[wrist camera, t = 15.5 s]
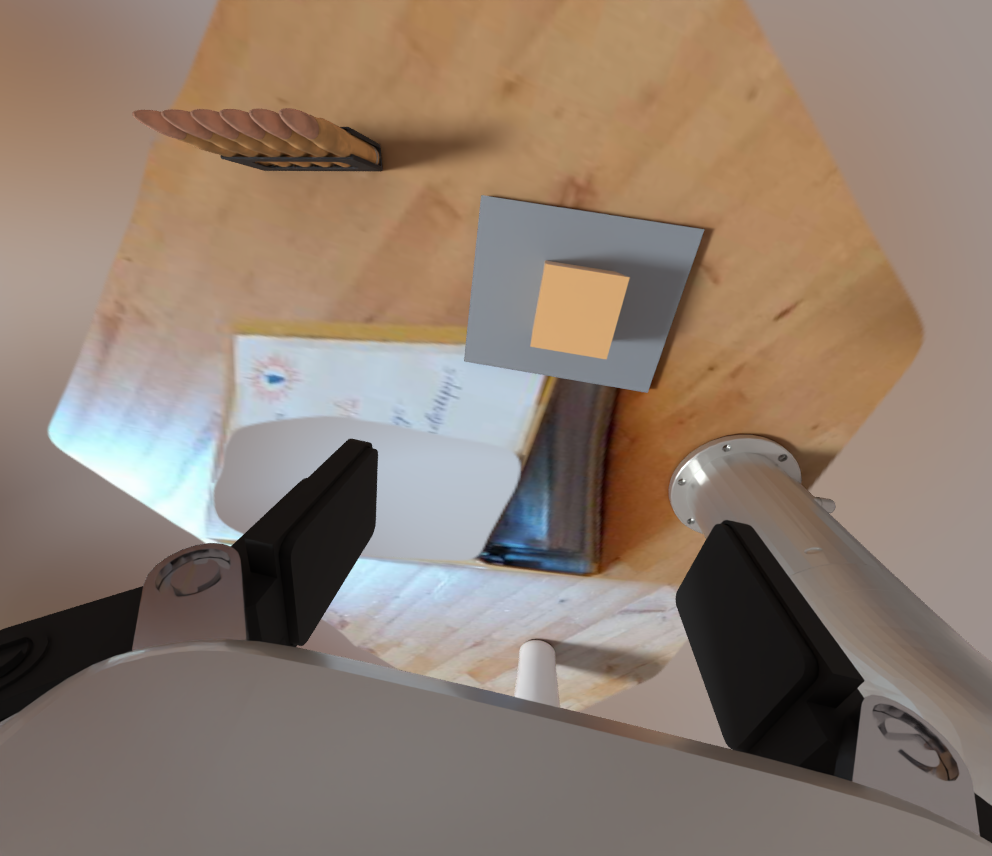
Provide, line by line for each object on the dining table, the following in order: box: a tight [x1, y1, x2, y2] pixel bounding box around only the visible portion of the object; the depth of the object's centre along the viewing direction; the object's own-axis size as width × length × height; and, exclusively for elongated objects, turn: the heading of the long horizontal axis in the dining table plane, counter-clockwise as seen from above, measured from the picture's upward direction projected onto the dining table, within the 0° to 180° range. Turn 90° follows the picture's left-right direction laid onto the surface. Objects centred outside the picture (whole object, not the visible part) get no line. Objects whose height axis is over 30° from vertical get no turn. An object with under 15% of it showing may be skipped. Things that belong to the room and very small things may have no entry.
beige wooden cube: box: [530, 260, 630, 359], centre depth 30 cm, size 6×6×6 cm
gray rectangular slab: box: [464, 195, 704, 393], centre depth 32 cm, size 18×14×4 cm
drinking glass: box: [514, 640, 560, 708], centre depth 50 cm, size 7×7×15 cm
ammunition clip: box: [132, 108, 383, 171], centre depth 26 cm, size 11×2×12 cm, turn 89°
